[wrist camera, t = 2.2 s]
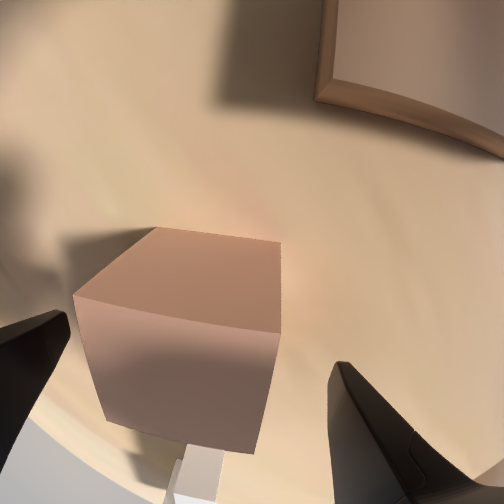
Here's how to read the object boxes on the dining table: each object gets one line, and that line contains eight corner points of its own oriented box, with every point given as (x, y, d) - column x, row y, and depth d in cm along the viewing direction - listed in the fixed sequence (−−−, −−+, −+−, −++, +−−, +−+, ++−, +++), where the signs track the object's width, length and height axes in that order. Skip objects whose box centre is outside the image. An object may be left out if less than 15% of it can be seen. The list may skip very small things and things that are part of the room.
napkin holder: (202, 500, 22) (192, 544, 17) (106, 446, 20) (83, 494, 15) (330, 463, 18) (335, 526, 12) (217, 391, 16) (196, 477, 10)
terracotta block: (280, 242, 12) (280, 333, 6) (264, 344, 14) (253, 454, 8) (157, 226, 12) (72, 294, 6) (160, 327, 14) (106, 420, 8)
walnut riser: (507, -6, 6) (549, -25, 2) (514, 163, 9) (572, 178, 6) (326, -80, 6) (337, -131, 2) (313, 101, 10) (332, 78, 6)
